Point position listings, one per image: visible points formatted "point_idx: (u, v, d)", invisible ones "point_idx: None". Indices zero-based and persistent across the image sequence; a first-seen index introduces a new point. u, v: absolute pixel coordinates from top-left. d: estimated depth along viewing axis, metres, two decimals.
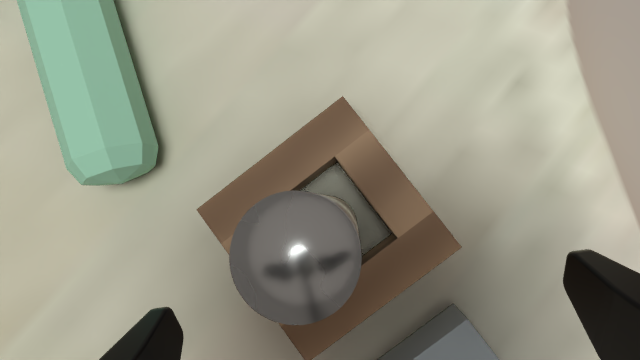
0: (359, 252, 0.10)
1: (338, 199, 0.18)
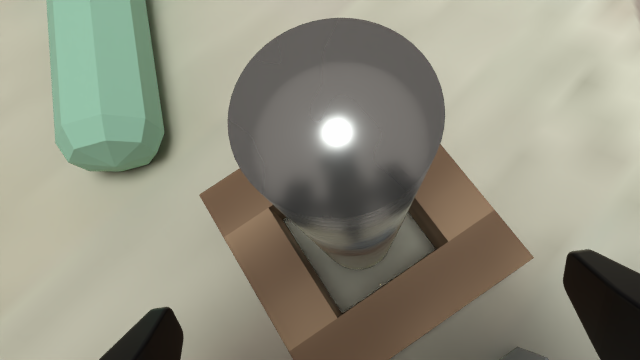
0: (440, 105, 0.06)
1: None
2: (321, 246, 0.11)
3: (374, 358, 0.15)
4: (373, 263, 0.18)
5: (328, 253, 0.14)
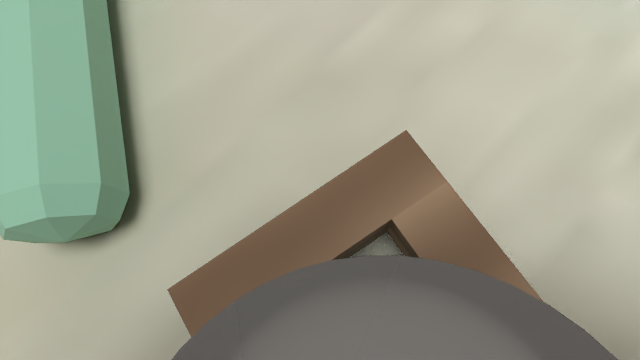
0: None
1: None
2: None
3: None
4: None
5: None
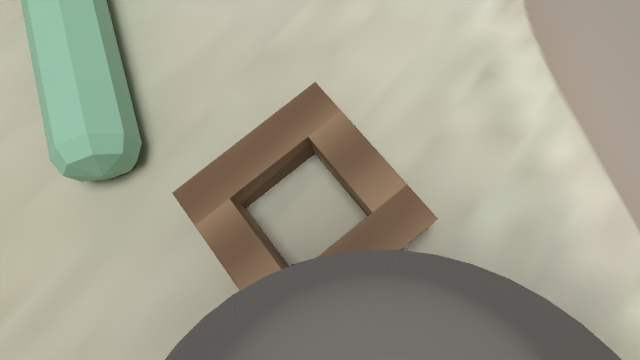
0: None
1: None
2: None
3: None
4: None
5: None
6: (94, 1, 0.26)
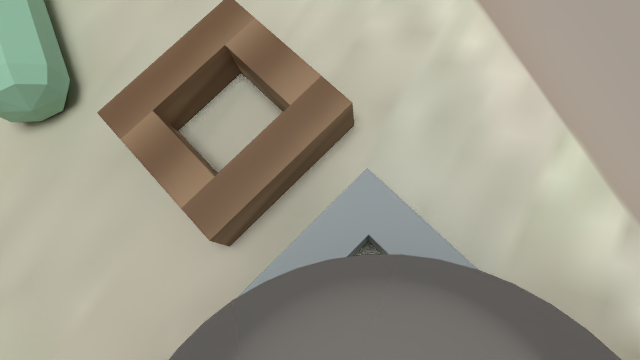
0: None
1: None
2: None
3: (244, 197, 0.20)
4: None
5: None
6: None
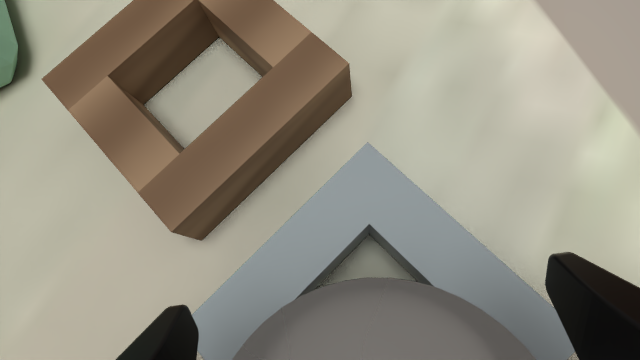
0: None
1: None
2: None
3: (215, 179, 0.16)
4: None
5: None
6: None
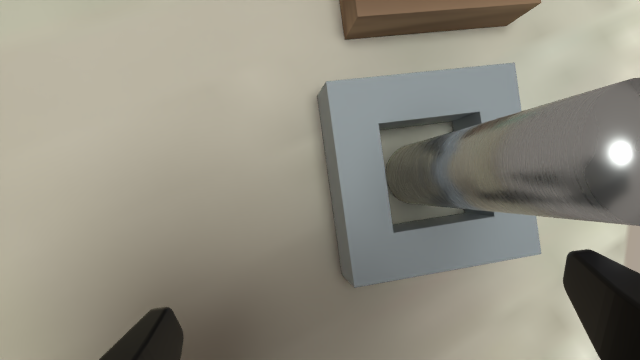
0: None
1: None
2: (461, 185, 0.14)
3: (408, 6, 0.20)
4: (420, 204, 0.21)
5: (432, 185, 0.17)
6: None
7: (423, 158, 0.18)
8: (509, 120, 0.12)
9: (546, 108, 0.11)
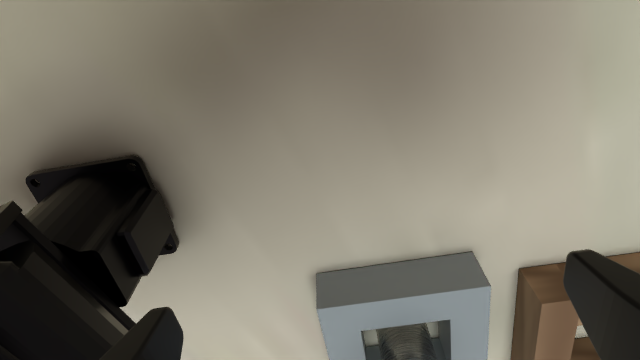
0: None
1: None
2: None
3: (543, 334, 0.25)
4: (378, 333, 0.26)
5: None
6: None
7: None
8: None
9: None
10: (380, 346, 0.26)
